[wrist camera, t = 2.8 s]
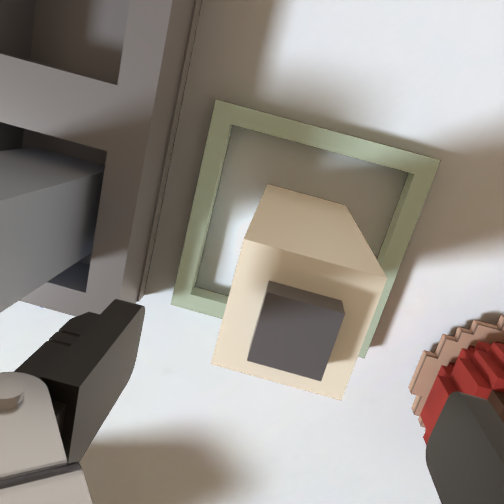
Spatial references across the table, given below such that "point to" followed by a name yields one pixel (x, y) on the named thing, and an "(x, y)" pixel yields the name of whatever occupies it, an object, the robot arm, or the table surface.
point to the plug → (300, 295)
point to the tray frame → (231, 114)
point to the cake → (460, 371)
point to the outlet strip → (99, 122)
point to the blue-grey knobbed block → (44, 217)
